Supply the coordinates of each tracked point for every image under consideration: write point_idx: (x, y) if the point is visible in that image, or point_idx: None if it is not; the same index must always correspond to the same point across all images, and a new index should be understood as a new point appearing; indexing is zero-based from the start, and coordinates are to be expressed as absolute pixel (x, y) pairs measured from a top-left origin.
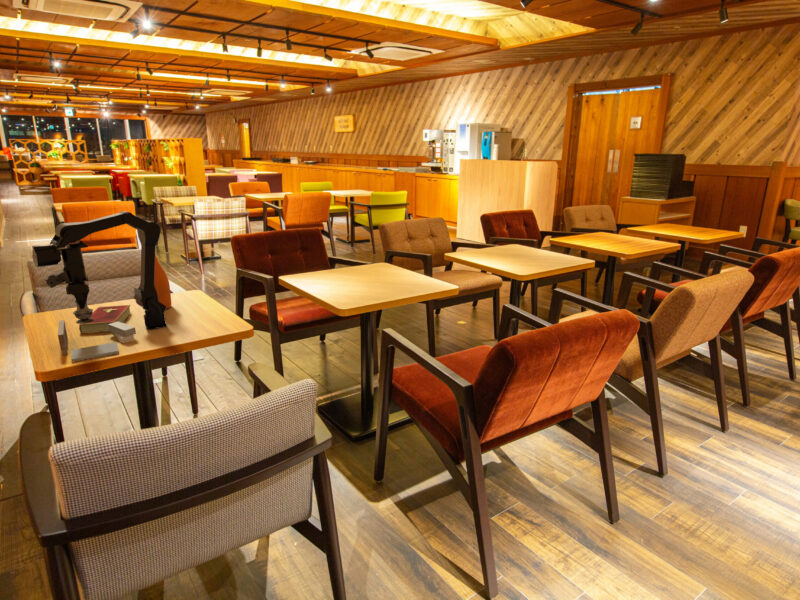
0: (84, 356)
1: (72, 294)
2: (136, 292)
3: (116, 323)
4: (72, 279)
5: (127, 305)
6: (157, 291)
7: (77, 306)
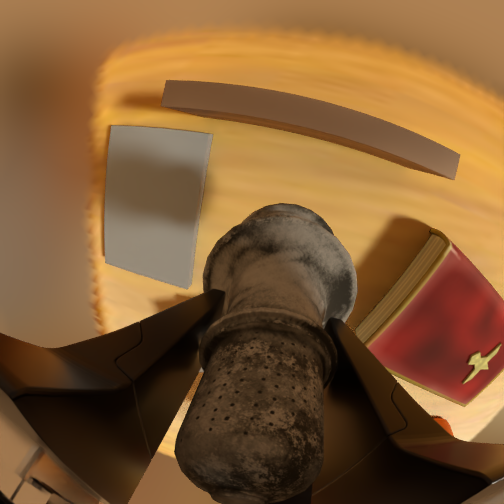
0: (109, 165)
1: (17, 346)
2: (289, 501)
3: None
4: None
5: (468, 401)
6: None
7: (260, 287)
